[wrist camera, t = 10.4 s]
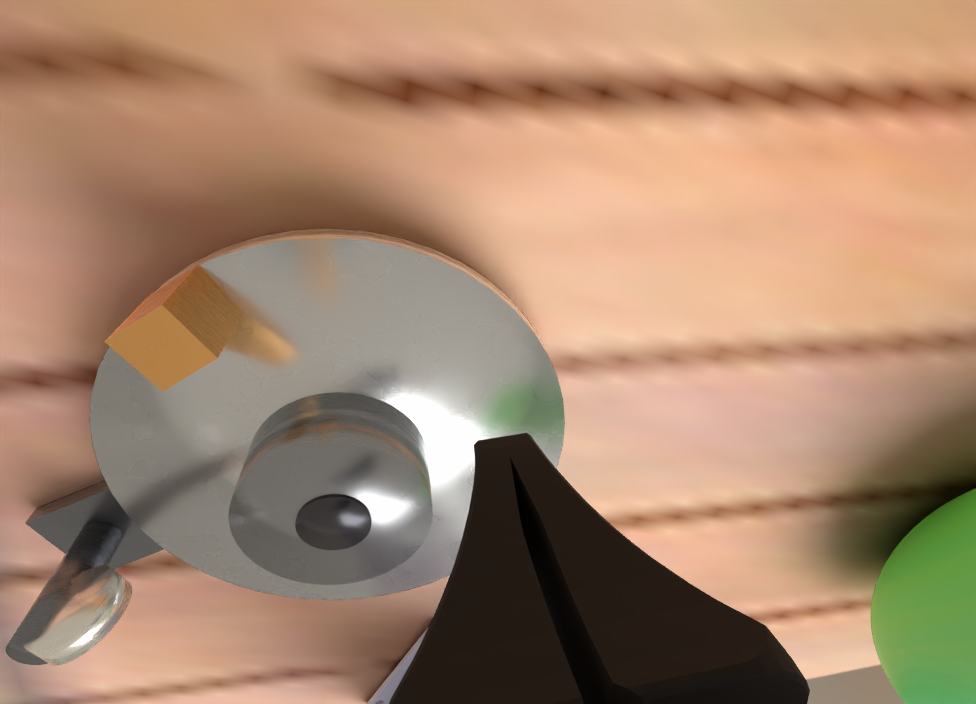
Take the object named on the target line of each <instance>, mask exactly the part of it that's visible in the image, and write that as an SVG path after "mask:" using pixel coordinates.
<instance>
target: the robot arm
mask: <svg viewBox="0 0 976 704" xmlns="http://www.w3.org/2000/svg"><path fill="white" fill-rule="evenodd" d="M474 454H475V472H474V482H473V489H472V495H471V501H470V507H469V512H468V516H467V520H466V524H465V528H464V532H463V536H462V540H461V544H460V547H459V550H458V554H457V557H456V560H455V563H454V566H453V569H452V572H451V575H450V577H449V580H448V582H447V585H446V588H445V590H444V593H443V596H442V598H441V601H440V603H439V605H438V608H437V610H436V612H435V615H434V617H433V619H432V621H431V623H430V625H429V627H428V628H427V629H426V630H425V632H424V633H423V634H422V635H421V637H420V638H419V639H418V640H417V642H416V643H415V644H414V645H413V647H412V648H411V649H410V650H409V652H408V653H407V654H406V655H405V656H404V658H403V659H402V660H401V661H400V663H399V664H398V665H397V666H396V668H395V669H394V670H393V671H392V673H391V674H390V675H389V676H388V678H387V679H386V680H385V681H384V683H383V684H382V685H381V686H380V687H379V689H378V690H377V691H376V692H375V694H374V695H373V696H372V697H371V699H370V700H369V701H368V702H367V704H807V701H808V696H809V691H810V690H809V687H808V684H807V681H806V679H805V678H804V676H803V675H802V673H801V672H800V670H799V669H798V667H797V666H796V664H795V663H794V661H793V660H792V658H791V657H790V656H789V654H788V653H787V652H786V650H785V649H784V648H783V647H782V645H781V644H780V643H779V642H778V640H777V639H776V638H775V637H774V635H773V634H772V633H771V632H770V630H769V629H768V628H767V627H766V626H765V625H763V624H761V623H760V622H758V621H756V620H754V619H752V618H750V617H748V616H746V615H744V614H742V613H741V612H739V611H737V610H735V609H733V608H731V607H729V606H727V605H725V604H723V603H721V602H720V601H718V600H716V599H714V598H713V597H711V596H709V595H708V594H706V593H704V592H703V591H701V590H699V589H698V588H696V587H694V586H693V585H691V584H690V583H688V582H687V581H685V580H684V579H682V578H681V577H679V576H678V575H676V574H675V573H673V572H672V571H670V570H669V569H668V568H666V567H665V566H663V565H662V564H660V563H659V562H657V561H656V560H654V559H653V558H652V557H650V556H649V555H648V554H646V553H645V552H644V551H642V550H641V549H640V548H639V547H637V546H636V545H635V544H633V543H632V542H631V541H630V540H628V539H627V538H626V537H625V536H624V535H622V534H621V533H620V532H619V531H618V530H616V529H615V528H614V527H613V526H612V525H611V524H610V523H608V522H607V521H606V520H605V519H604V518H603V517H602V516H601V515H600V514H599V513H598V512H597V511H596V510H595V509H594V508H593V507H591V506H590V505H589V504H588V503H587V502H586V501H585V500H584V499H583V498H582V497H581V496H580V494H579V493H578V492H577V491H576V490H575V489H574V488H573V487H572V486H571V485H570V484H569V483H568V481H567V480H566V479H565V478H564V477H563V476H562V475H561V474H560V473H559V471H558V470H557V469H556V468H555V467H554V465H553V464H552V463H551V462H550V460H549V459H548V458H547V457H546V455H545V454H544V453H543V452H542V450H541V449H540V448H539V446H538V445H537V443H536V442H535V441H534V439H533V438H532V436H531V435H529V434H528V433H522V434H515V435H509V436H503V437H496V438H490V439H484V440H478V441H477V442H476V443H475V444H474Z"/></svg>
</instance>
